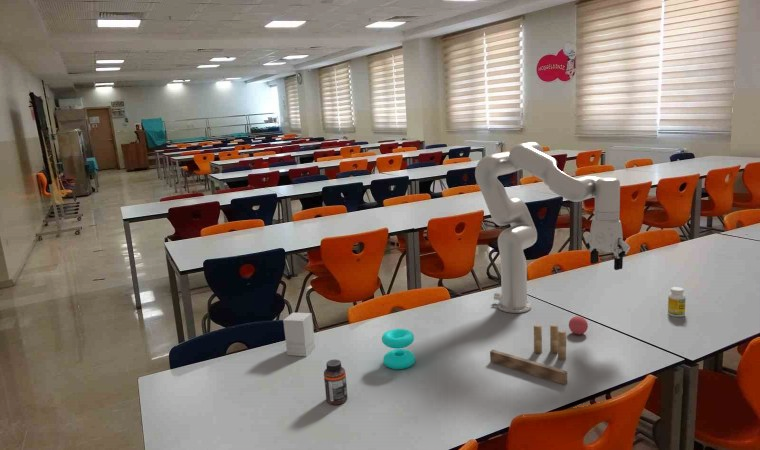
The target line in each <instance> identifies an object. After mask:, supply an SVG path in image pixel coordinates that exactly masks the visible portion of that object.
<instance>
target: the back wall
mask: <svg viewBox="0 0 760 450" xmlns="http://www.w3.org/2000/svg"><path fill="white" fill-rule="evenodd" d="M489 355H490V356H489V359H490V361H489V362H490V363H492V364H496V365H499V366H502V367H505V368H509V369H512V370H515V371H519V372H521V373H526V374H528V375H532V376H534V377H537V378H541V379H545V380H547V381H551V382H554V383H558V384H561V385H566V384H567V383H568V370H565V369H561V368H557V367H554V366H552V365H548V364H544V363H540V362H536V361H533V360H530V359H527V358H523V357H520V356H515V355H513V354H511V353H510V354H509V353H506V352H502V351H499V350H496V349H491V350H490V352H489Z"/></svg>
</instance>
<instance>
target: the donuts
mask: <svg viewBox="0 0 760 450" xmlns="http://www.w3.org/2000/svg"><path fill="white" fill-rule="evenodd" d="M414 340H415V336H414V334H413V332H412V331H410V330H409V329H405V328H393V329H390V330H387V331H385V332H384V333H383V334H382V337H381V341H382V342H381V343H382V344H383V345H385V346H386V347H387V348H391V349H392V350H390V351H387V352H386V353H385V354H384V355H383V356H384V357H383V358H382V359H383V364H384V365H385V366H386V367H388V368H389V369H393V370H405V369H408V368H411V366H413V365H414V364H415V362H416V355H415V354H414V353H413V351H411V350H408V349H405V348H407V347H409V346H411V344H413V342H414Z"/></svg>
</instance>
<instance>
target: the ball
mask: <svg viewBox="0 0 760 450" xmlns="http://www.w3.org/2000/svg"><path fill="white" fill-rule="evenodd" d="M588 325H589V324H588V321H587V319H585V318H584V317H583V316H580V315H579V316H578V315H577V316H573V317H572V318H570V320H569V322H568V327H569V330H570V332H572V333H573V334H575V335H583V334H585V333H586V332H587V330H588V328H589V326H588Z"/></svg>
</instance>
